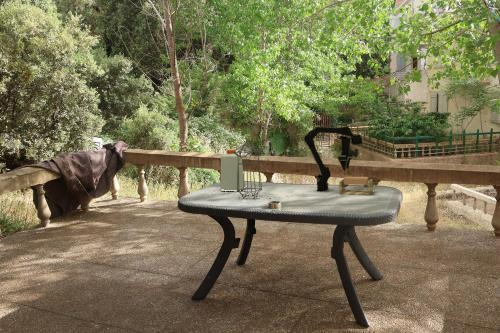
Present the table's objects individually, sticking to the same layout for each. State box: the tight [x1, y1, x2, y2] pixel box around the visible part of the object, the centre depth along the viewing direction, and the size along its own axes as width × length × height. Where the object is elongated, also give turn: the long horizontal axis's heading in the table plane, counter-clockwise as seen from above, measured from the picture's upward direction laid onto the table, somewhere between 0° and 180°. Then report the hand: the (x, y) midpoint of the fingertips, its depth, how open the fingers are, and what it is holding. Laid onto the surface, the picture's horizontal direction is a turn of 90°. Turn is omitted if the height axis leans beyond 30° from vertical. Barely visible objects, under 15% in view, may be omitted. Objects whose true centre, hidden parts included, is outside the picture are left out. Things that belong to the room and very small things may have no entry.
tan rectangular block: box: [343, 176, 369, 186], centre depth 287 cm, size 14×6×4 cm, turn 66°
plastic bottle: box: [220, 149, 246, 190], centre depth 317 cm, size 15×15×28 cm
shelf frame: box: [338, 178, 374, 196], centre depth 288 cm, size 18×12×8 cm, turn 66°
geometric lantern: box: [233, 141, 263, 198], centre depth 289 cm, size 16×16×35 cm
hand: (346, 169), depth 302 cm, fingers open, 9 cm apart
